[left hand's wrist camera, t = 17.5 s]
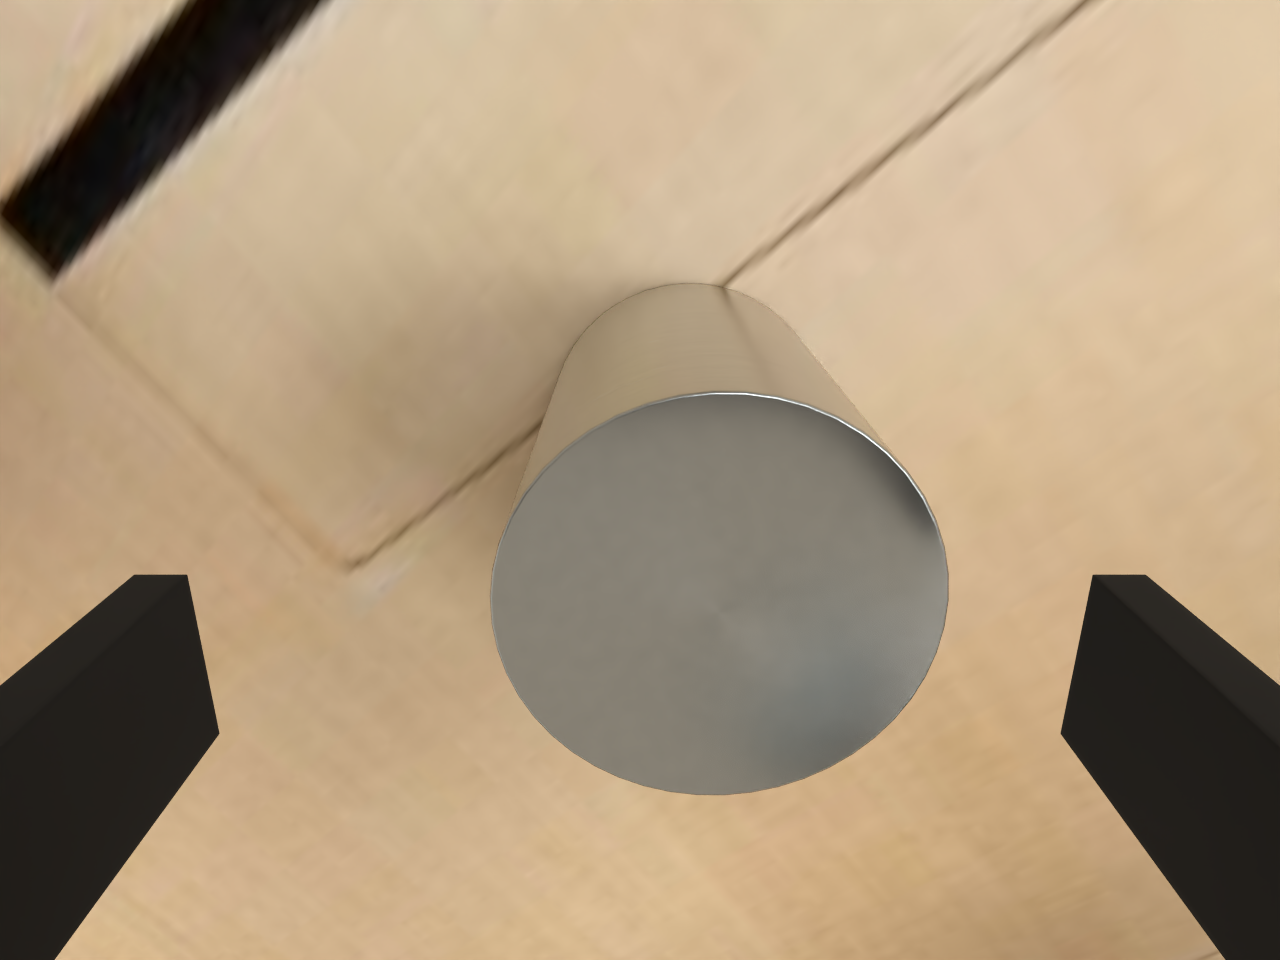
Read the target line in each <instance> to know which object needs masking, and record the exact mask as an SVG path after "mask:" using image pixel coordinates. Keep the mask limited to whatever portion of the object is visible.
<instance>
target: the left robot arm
mask: <svg viewBox="0 0 1280 960" xmlns="http://www.w3.org/2000/svg"><path fill="white" fill-rule="evenodd" d="M218 735H219V729H218V724H217V719H216V714H215V709H214V705H213V700H212V695H211V690H210V685H209V680H208V675H207V670H206V665H205V660H204V655H203V650H202V645H201V640H200V635H199V631H198V626H197V621H196V616H195V611H194V606H193V601H192V596H191V591H190V586H189V581H188V576H187V575H133V576H132V577H131V578H130V579H129V580H127V581H126V582H125V583H124V584H123V585H121V586H120V587H119V588H118V589H117V590H115V591H114V592H113V593H112V594H110V595H109V596H108V597H107V598H106V599H104V600H103V601H102V602H101V603H100V604H98V605H97V606H96V607H95V608H94V609H92V610H91V611H90V612H89V613H88V614H86V615H85V616H84V617H83V618H81V619H80V620H79V621H78V622H77V623H75V624H74V625H73V626H72V627H71V628H69V629H68V630H67V631H66V632H65V633H63V634H62V635H61V636H60V637H58V638H57V639H56V640H55V641H54V642H52V643H51V644H50V645H49V646H48V647H46V648H45V649H44V650H43V651H42V652H40V653H39V654H38V655H37V656H35V657H34V658H33V659H32V660H31V661H29V662H28V663H27V664H26V665H25V666H23V667H22V668H21V669H20V670H19V671H17V672H16V673H15V674H14V675H13V676H11V677H10V678H9V679H8V680H6V681H5V682H4V683H3V684H2V685H0V960H55V958H56V957H57V956H58V954H59V953H60V952H61V950H62V949H63V947H64V946H65V945H66V943H67V942H68V941H69V939H70V938H71V936H72V935H73V934H74V932H75V931H76V930H77V928H78V927H79V926H80V924H81V923H82V921H83V920H84V919H85V917H86V916H87V915H88V913H89V912H90V910H91V909H92V908H93V906H94V905H95V904H96V902H97V901H98V899H99V898H100V897H101V895H102V894H103V893H104V891H105V890H106V888H107V887H108V886H109V884H110V883H111V882H112V880H113V879H114V877H115V876H116V875H117V873H118V872H119V871H120V869H121V868H122V867H123V865H124V864H125V862H126V861H127V860H128V858H129V857H130V856H131V854H132V853H133V851H134V850H135V849H136V847H137V846H138V845H139V843H140V842H141V840H142V839H143V838H144V836H145V835H146V834H147V832H148V831H149V829H150V828H151V827H152V825H153V824H154V823H155V821H156V820H157V819H158V817H159V816H160V814H161V813H162V812H163V810H164V809H165V808H166V806H167V805H168V803H169V802H170V801H171V799H172V798H173V797H174V795H175V794H176V792H177V791H178V790H179V788H180V787H181V786H182V784H183V783H184V781H185V780H186V779H187V777H188V776H189V775H190V773H191V772H192V771H193V769H194V768H195V766H196V765H197V764H198V762H199V761H200V760H201V758H202V757H203V755H204V754H205V753H206V751H207V750H208V749H209V747H210V746H211V744H212V743H213V742H214V740H215V739H216V738H217V736H218ZM1061 735H1062V736H1063V738H1064V739H1065V740H1066V742H1067V743H1068V744H1069V746H1070V747H1071V749H1072V750H1073V751H1074V753H1075V754H1076V755H1077V757H1078V758H1079V760H1080V761H1081V762H1082V764H1083V765H1084V766H1085V768H1086V769H1087V771H1088V772H1089V773H1090V775H1091V776H1092V777H1093V779H1094V780H1095V781H1096V783H1097V784H1098V786H1099V787H1100V788H1101V790H1102V791H1103V792H1104V794H1105V795H1106V797H1107V798H1108V799H1109V801H1110V802H1111V803H1112V805H1113V806H1114V808H1115V809H1116V810H1117V812H1118V813H1119V814H1120V816H1121V817H1122V819H1123V820H1124V821H1125V823H1126V824H1127V825H1128V827H1129V828H1130V829H1131V831H1132V832H1133V834H1134V835H1135V836H1136V838H1137V839H1138V840H1139V842H1140V843H1141V845H1142V846H1143V847H1144V849H1145V850H1146V851H1147V853H1148V854H1149V856H1150V857H1151V858H1152V860H1153V861H1154V862H1155V864H1156V865H1157V867H1158V868H1159V869H1160V871H1161V872H1162V873H1163V875H1164V876H1165V877H1166V879H1167V880H1168V882H1169V883H1170V884H1171V886H1172V887H1173V888H1174V890H1175V891H1176V893H1177V894H1178V895H1179V897H1180V898H1181V899H1182V901H1183V902H1184V904H1185V905H1186V906H1187V908H1188V909H1189V910H1190V912H1191V913H1192V915H1193V916H1194V917H1195V919H1196V920H1197V921H1198V923H1199V924H1200V926H1201V927H1202V928H1203V930H1204V931H1205V932H1206V934H1207V935H1208V936H1209V938H1210V939H1211V941H1212V942H1213V943H1214V945H1215V946H1216V947H1217V949H1218V950H1219V952H1220V953H1221V954H1222V956H1223V957H1224V958H1225V960H1280V685H1278V684H1277V683H1276V682H1275V681H1274V680H1272V679H1271V678H1270V677H1269V676H1267V675H1266V674H1265V673H1264V672H1263V671H1261V670H1260V669H1259V668H1258V667H1257V666H1255V665H1254V664H1253V663H1252V662H1251V661H1249V660H1248V659H1247V658H1246V657H1245V656H1243V655H1242V654H1241V653H1240V652H1238V651H1237V650H1236V649H1235V648H1234V647H1232V646H1231V645H1230V644H1229V643H1228V642H1226V641H1225V640H1224V639H1223V638H1222V637H1220V636H1219V635H1218V634H1217V633H1215V632H1214V631H1213V630H1212V629H1211V628H1209V627H1208V626H1207V625H1206V624H1205V623H1203V622H1202V621H1201V620H1200V619H1199V618H1197V617H1196V616H1195V615H1194V614H1192V613H1191V612H1190V611H1189V610H1188V609H1186V608H1185V607H1184V606H1183V605H1182V604H1180V603H1179V602H1178V601H1177V600H1176V599H1174V598H1173V597H1172V596H1171V595H1170V594H1168V593H1167V592H1166V591H1165V590H1163V589H1162V588H1161V587H1160V586H1159V585H1157V584H1156V583H1155V582H1154V581H1153V580H1151V579H1150V578H1149V577H1148V576H1147V575H1093V576H1092V581H1091V586H1090V591H1089V596H1088V601H1087V606H1086V611H1085V616H1084V621H1083V626H1082V631H1081V635H1080V640H1079V645H1078V650H1077V655H1076V660H1075V665H1074V670H1073V675H1072V680H1071V685H1070V690H1069V695H1068V700H1067V705H1066V709H1065V714H1064V719H1063V724H1062V729H1061Z"/></svg>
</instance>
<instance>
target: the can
mask: <svg viewBox="0 0 1280 960" xmlns="http://www.w3.org/2000/svg"><path fill="white" fill-rule="evenodd" d="M948 584H949V573H948V566H947V560H946V553H945V546H944V543H943V540H942V537H941V533H940V530H939V527H938V524H937V520H936V518H935V516H934V514H933V512H932V510H931V508H930V506H929V504H928V502H927V500H926V498H925V496H924V494H923V493H922V491H921V490H920V488H919V487H918V485H917V484H916V483H915V481H914V480H913V478H912V477H911V475H910V474H909V472H908V471H907V470H906V469H905V467H904V466H903V465H902V464H901V462H900V461H899V460H898V459H897V458H896V456H895V455H894V454H893V453H892V451H891V450H890V449H889V448H888V446H887V445H886V444H885V443H884V442H883V440H882V439H881V438H880V437H879V435H878V434H877V433H876V432H875V431H874V429H873V428H872V427H871V426H870V424H869V423H868V422H867V421H866V419H865V418H864V417H863V416H862V415H861V413H860V412H859V411H858V410H857V408H856V407H855V406H854V405H853V403H852V402H851V401H850V400H849V399H848V397H847V396H846V395H845V394H844V392H843V391H842V390H841V389H840V387H839V386H838V385H837V384H836V383H835V381H834V380H833V379H832V378H831V376H830V375H829V374H828V373H827V371H826V370H825V369H824V368H823V367H822V365H821V364H820V363H819V362H818V360H817V359H816V358H815V357H814V355H813V354H812V353H811V352H810V351H809V349H808V348H807V347H806V346H805V344H804V343H803V342H802V341H801V340H800V338H799V337H798V336H797V335H796V333H795V332H794V331H793V330H792V329H791V328H790V327H789V326H788V325H787V324H786V322H785V321H784V320H783V319H782V318H780V317H779V316H778V315H777V314H775V313H774V312H773V311H772V310H771V309H769V308H768V307H766V306H765V305H763V304H761V303H760V302H758V301H756V300H755V299H753V298H751V297H748V296H746V295H744V294H741V293H739V292H737V291H734V290H730V289H726V288H723V287H719V286H713V285H706V284H675V285H667V286H661V287H657V288H654V289H650V290H646V291H643V292H641V293H638V294H636V295H634V296H631V297H629V298H627V299H625V300H623V301H622V302H620V303H618V304H616V305H615V306H613V307H611V308H610V309H609V310H607V311H606V312H605V313H604V314H602V315H601V316H600V317H598V318H597V319H596V320H595V321H594V322H593V323H592V324H591V325H590V326H589V327H588V328H587V329H586V330H585V331H584V333H583V334H582V335H581V337H580V338H579V339H578V341H577V342H576V343H575V345H574V346H573V348H572V350H571V351H570V353H569V355H568V357H567V359H566V360H565V363H564V365H563V368H562V370H561V373H560V375H559V378H558V381H557V383H556V386H555V389H554V392H553V395H552V397H551V400H550V403H549V406H548V408H547V411H546V414H545V417H544V419H543V422H542V425H541V428H540V430H539V433H538V436H537V439H536V442H535V444H534V447H533V450H532V453H531V455H530V458H529V461H528V464H527V466H526V469H525V472H524V475H523V477H522V480H521V483H520V486H519V489H518V491H517V494H516V497H515V500H514V502H513V505H512V508H511V511H510V513H509V516H508V519H507V522H506V524H505V527H504V530H503V533H502V536H501V538H500V541H499V544H498V548H497V552H496V557H495V561H494V565H493V569H492V580H491V591H490V604H491V620H492V627H493V631H494V636H495V641H496V645H497V649H498V652H499V655H500V657H501V660H502V663H503V665H504V668H505V671H506V673H507V675H508V677H509V679H510V681H511V682H512V684H513V686H514V688H515V690H516V692H517V694H518V695H519V697H520V698H521V700H522V701H523V702H524V704H525V705H526V707H527V708H528V709H529V711H530V712H531V713H532V715H533V716H534V717H535V718H536V719H537V720H538V721H539V723H540V724H541V725H542V726H543V727H544V728H545V729H546V730H547V731H548V732H549V733H550V734H551V735H552V736H553V737H554V738H556V739H557V740H558V741H559V742H561V743H562V744H563V745H564V746H565V747H567V748H568V749H569V750H570V751H572V752H573V753H575V754H576V755H578V756H579V757H581V758H583V759H584V760H586V761H587V762H589V763H591V764H592V765H594V766H596V767H598V768H600V769H602V770H604V771H606V772H608V773H610V774H613V775H615V776H617V777H619V778H622V779H625V780H628V781H631V782H634V783H637V784H640V785H642V786H646V787H651V788H655V789H660V790H664V791H669V792H676V793H685V794H694V795H730V794H741V793H751V792H756V791H761V790H766V789H771V788H776V787H780V786H783V785H786V784H789V783H792V782H795V781H799V780H802V779H805V778H807V777H809V776H811V775H814V774H816V773H818V772H821V771H823V770H825V769H827V768H830V767H831V766H833V765H835V764H836V763H838V762H840V761H842V760H843V759H845V758H847V757H849V756H850V755H852V754H854V753H855V752H856V751H858V750H859V749H860V748H862V747H863V746H864V745H866V744H867V743H868V742H870V741H871V740H872V739H874V738H875V737H876V736H877V735H878V734H879V733H880V732H881V731H882V730H883V729H885V728H886V727H887V726H888V725H889V724H890V723H891V722H892V721H893V720H894V719H895V718H896V717H897V715H898V714H899V713H900V712H901V711H902V709H903V708H904V707H905V706H906V705H907V703H908V702H909V701H910V700H911V698H912V697H913V695H914V694H915V692H916V691H917V689H918V687H919V686H920V684H921V683H922V681H923V680H924V678H925V676H926V674H927V672H928V670H929V668H930V666H931V663H932V661H933V659H934V657H935V655H936V653H937V649H938V646H939V643H940V640H941V636H942V633H943V630H944V626H945V619H946V613H947V606H948Z"/></svg>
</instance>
